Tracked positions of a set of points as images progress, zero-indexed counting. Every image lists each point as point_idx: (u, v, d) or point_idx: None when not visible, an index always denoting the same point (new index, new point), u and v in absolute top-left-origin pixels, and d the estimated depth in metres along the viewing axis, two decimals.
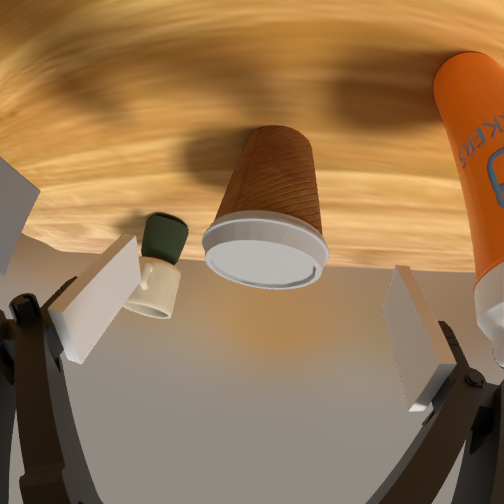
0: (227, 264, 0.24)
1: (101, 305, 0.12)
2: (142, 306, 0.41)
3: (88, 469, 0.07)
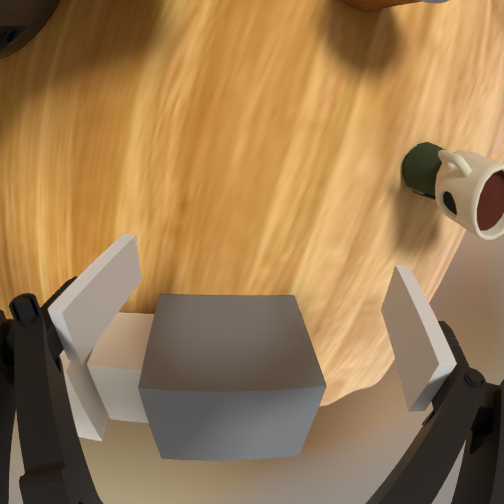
0: None
1: (101, 305, 0.12)
2: (495, 226, 0.22)
3: (88, 469, 0.07)
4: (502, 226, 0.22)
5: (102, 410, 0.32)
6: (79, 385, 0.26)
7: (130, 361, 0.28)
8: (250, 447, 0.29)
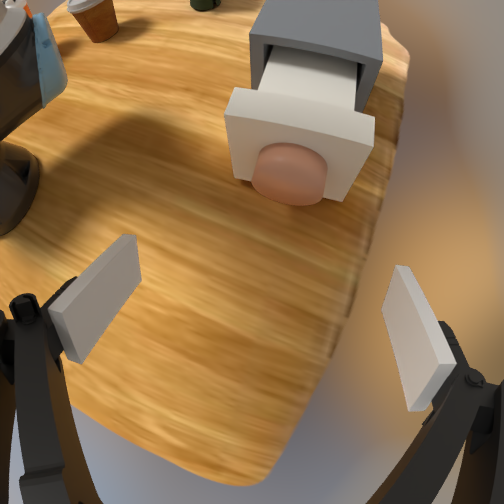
0: None
1: (101, 305, 0.12)
2: None
3: (88, 469, 0.07)
4: None
5: None
6: None
7: None
8: (353, 10, 0.28)
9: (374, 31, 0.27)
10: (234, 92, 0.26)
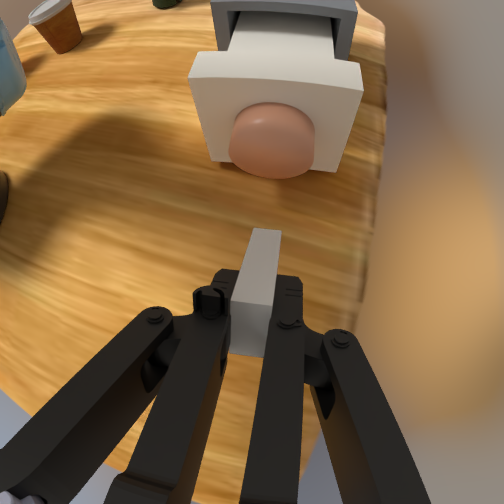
0: (58, 1, 0.33)
1: None
2: None
3: None
4: None
5: None
6: None
7: None
8: None
9: None
10: (198, 56, 0.21)
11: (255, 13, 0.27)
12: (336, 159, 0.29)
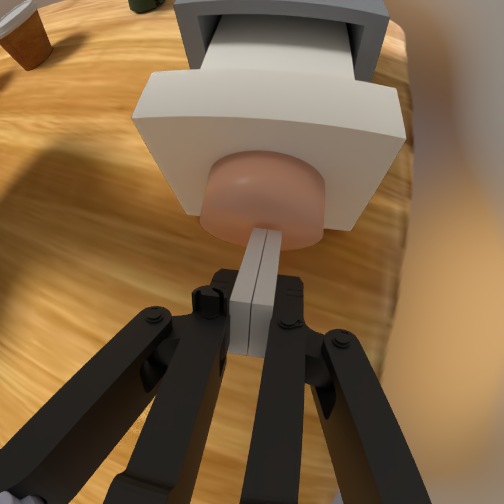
0: (20, 11, 0.26)
1: None
2: None
3: (195, 480, 0.07)
4: None
5: None
6: None
7: None
8: None
9: None
10: (151, 80, 0.14)
11: None
12: (352, 218, 0.22)
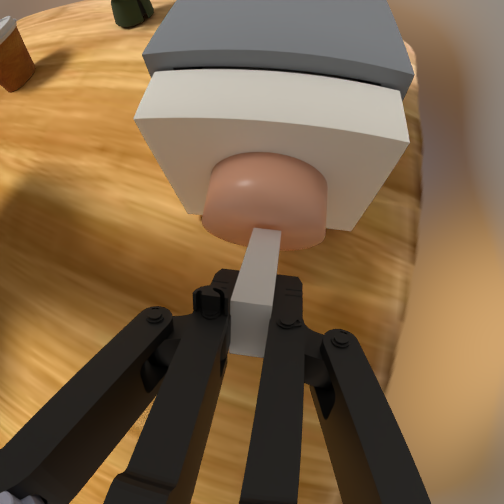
0: None
1: None
2: None
3: None
4: None
5: None
6: None
7: None
8: None
9: (382, 16, 0.14)
10: (153, 79, 0.14)
11: None
12: (353, 219, 0.22)
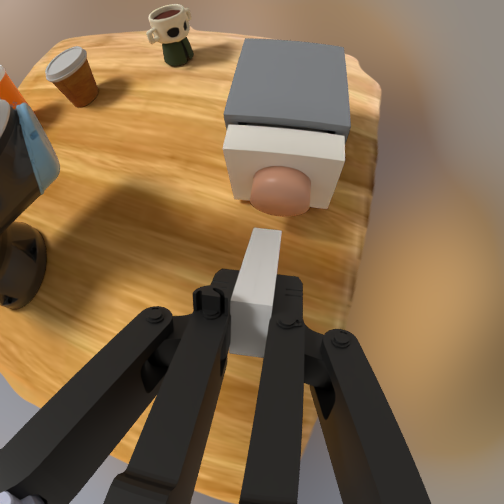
0: (73, 59, 0.44)
1: None
2: (181, 10, 0.45)
3: None
4: (180, 7, 0.45)
5: None
6: None
7: None
8: (320, 67, 0.34)
9: (341, 91, 0.33)
10: (228, 129, 0.33)
11: None
12: (327, 200, 0.40)
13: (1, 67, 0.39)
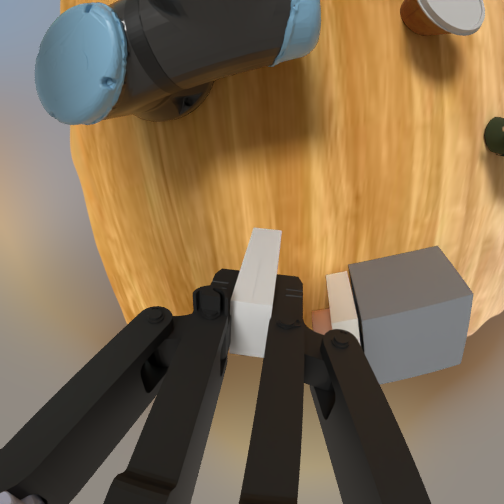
0: (459, 19, 0.21)
1: None
2: None
3: None
4: None
5: None
6: None
7: None
8: (430, 359, 0.39)
9: (403, 376, 0.41)
10: (352, 320, 0.39)
11: None
12: None
13: None
